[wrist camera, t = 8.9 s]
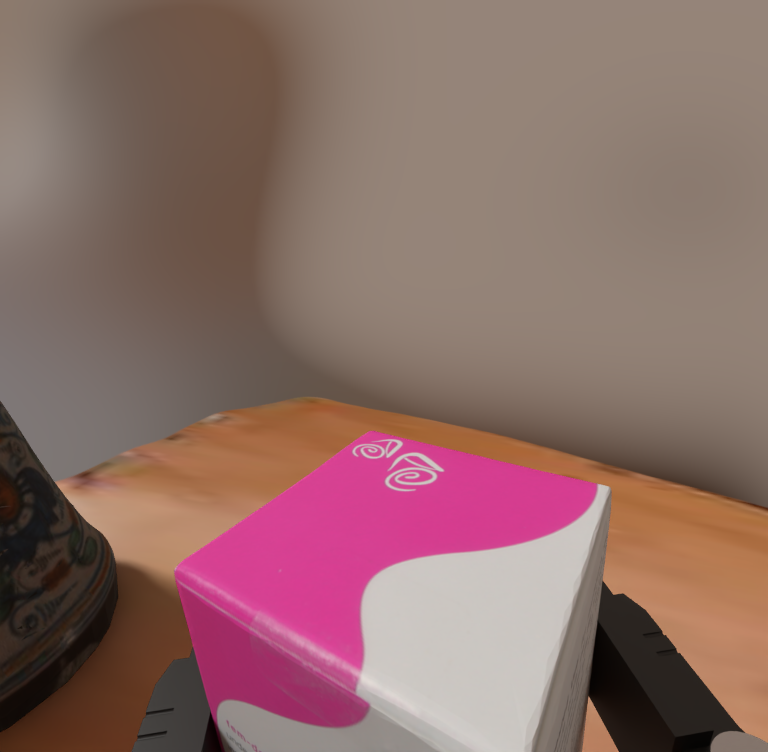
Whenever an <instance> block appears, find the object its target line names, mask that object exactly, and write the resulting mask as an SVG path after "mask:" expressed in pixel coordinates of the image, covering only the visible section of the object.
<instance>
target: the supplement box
mask: <svg viewBox="0 0 768 752" xmlns="http://www.w3.org/2000/svg"><path fill="white" fill-rule="evenodd" d="M611 493H612V492H611V488H610V487H608V486H604V485H600V484H596V483H591V482H587V481H582V480H578V479H574V478H569V477H565V476H561V475H557V474H553V473H548V472H543V471H539V470H535V469H531V468H527V467H522V466H518V465H514V464H510V463H505V462H501V461H497V460H493V459H489V458H485V457H480V456H476V455H472V454H468V453H464V452H460V451H456V450H451V449H447V448H442V447H438V446H434V445H430V444H426V443H421V442H417V441H413V440H409V439H404V438H400V437H396V436H392V435H388V434H384V433H379V432H376V431H369V432H368V433H366V434H364V435H363V436H361V437H360V438H358V439H357V440H355V441H354V442H352V443H351V444H350V445H348V446H347V447H345V448H344V449H343V450H341V451H340V452H339V453H337V454H336V455H335V456H333V457H332V458H331V459H329V460H328V461H327V462H325V463H324V464H323V465H321V466H320V467H318V468H317V469H316V470H315V471H313V472H312V473H310V474H309V475H307V476H306V477H305V478H303V479H302V480H300V481H299V482H298V483H296V484H295V485H293V486H292V487H290V488H289V489H287V490H286V491H285V492H283V493H282V494H280V495H279V496H277V497H276V498H275V499H273V500H272V501H270V502H269V503H267V504H266V505H264V506H263V507H261V508H260V509H258V510H257V511H255V512H254V513H252V514H251V515H249V516H248V517H247V518H245V519H244V520H242V521H241V522H239V523H238V524H236V525H235V526H233V527H232V528H231V529H229V530H228V531H226V532H225V533H223V534H222V535H220V536H219V537H217V538H216V539H214V540H213V541H211V542H210V543H208V544H207V545H206V546H204V547H203V548H201V549H200V550H198V551H196V552H195V553H193V554H192V555H190V556H189V557H187V558H186V559H184V560H183V561H182V562H181V563H180V564H178V565H177V567H176V568H175V570H174V574H175V580H176V584H177V588H178V592H179V595H180V599H181V603H182V606H183V610H184V614H185V618H186V621H187V625H188V629H189V632H190V636H191V640H192V644H193V648H194V651H195V655H196V659H197V663H198V666H199V670H200V674H201V678H202V681H203V685H204V689H205V692H206V696H207V700H208V703H209V707H210V710H211V713H212V717H213V721H214V725H215V729H216V733H217V736H218V740H219V743H220V747H221V751H222V752H582V747H583V738H584V730H585V721H586V712H587V704H588V696H589V687H590V679H591V670H592V662H593V654H594V645H595V637H596V628H597V620H598V612H599V604H600V596H601V588H602V580H603V572H604V564H605V555H606V547H607V538H608V530H609V521H610V511H611Z"/></svg>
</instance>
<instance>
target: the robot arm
mask: <svg viewBox="0 0 768 752" xmlns="http://www.w3.org/2000/svg"><path fill="white" fill-rule="evenodd" d="M589 697H590V699H591V701H592V703H593V704H594V706H595V708H596V710H597V712H598V714H599V715H600V717H601V719H602V721H603V723H604V725H605V727H606V728H607V730H608V732H609V734H610V736H611V738H612V739H613V741H614V743H615V745H616V747H617V749H618V751H619V752H768V743H766V742H765V741H763V740H761V739H759V738H757V737H755V736H753V735H750V734H747V733H745V732H744V731H743V730H742V729H741V728H740V727H739V726H738V725H737V724H736V723H735V721H734V720H733V719H732V718H731V717H730V715H729V714H728V713H727V712H726V710H725V709H724V708H723V707H722V705H721V704H720V703H719V702H718V700H717V699H716V698H715V697H714V695H713V694H712V693H711V691H710V690H709V689H708V688H707V686H706V685H705V684H704V683H703V681H702V680H701V679H700V678H699V676H698V675H697V674H696V673H695V671H694V670H693V669H692V668H691V666H690V665H689V664H688V663H687V661H686V660H685V659H684V658H683V656H682V655H681V654H680V653H678V652H677V651H676V648H675V646H674V645H673V644H672V643H671V641H670V640H669V639H668V638H667V636H666V635H663V633H662V630H661V629H660V628H659V626H658V625H657V624H656V623H655V621H654V620H653V619H652V618H651V616H650V615H649V614H648V613H647V611H646V610H645V609H643V608H642V607H641V606H639V605H638V604H637V603H635V602H634V601H633V600H631V599H630V598H629V597H627V596H626V595H624V594H617V595H613V594H612V592H611V591H610V590H609V588H608V587H607V586H606V584H605V583H604V582H603V580H602V588H601V596H600V604H599V612H598V620H597V628H596V637H595V645H594V654H593V662H592V670H591V679H590V687H589ZM137 736H138V738H137V742H135V744H134V746H133V749H132V752H222V751H221V747H220V743H219V740H218V736H217V733H216V729H215V725H214V721H213V717H212V713H211V710H210V707H209V703H208V700H207V696H206V692H205V689H204V685H203V681H202V678H201V674H200V670H199V666H198V663H197V659H196V655H195V651H194V648H192V651H191V655H190V658H184V659H177V660H173V662H172V663H171V664H170V666H169V667H168V668H167V670H166V671H165V673H164V674H163V675H162V677H161V678H160V679H159V681H158V682H157V684H156V685H155V688H154V691H153V693H152V696H151V699H150V702H149V705H148V707H147V710H146V716H145V718H143V721H142V724H141V727H140V730H139V732H138V735H137Z"/></svg>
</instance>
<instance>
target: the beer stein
mask: <svg viewBox="0 0 768 752" xmlns="http://www.w3.org/2000/svg"><path fill="white" fill-rule="evenodd" d="M117 599H118V588H117V574H116V562H115V558H114V553H113V551H112V548H111V546H110V544H109V542H108V541H107V539H106V538H105V537H104V535H103V534H102V533H101V532H99V531H98V530H97V529H95V528H94V527H93V526H91V525H90V524H89V523H88V522H87V521H86V520H85V519H84V518H83V517H82V516H81V515H80V514H79V513H78V511H77V510H76V509H75V508H74V506H73V505H72V504H71V503H70V502H69V501H68V499H67V498H66V497H65V496H64V494H63V493H62V492H61V490H60V489H59V488H58V486H57V485H56V483H55V482H54V481H53V479H52V478H51V476H50V475H49V474H48V472H47V471H46V470H45V468H44V466H43V465H42V463H41V462H40V461H39V459H38V458H37V456H36V455H35V453H34V452H33V450H32V449H31V447H30V445H29V444H28V442H27V441H26V439H25V438H24V436H23V435H22V433H21V431H20V430H19V428H18V427H17V425H16V424H15V422H14V421H13V419H12V418H11V416H10V414H9V413H8V411H7V410H6V409H5V407H4V406H3V404H2V403H1V401H0V732H1V731H3V730H5V729H7V728H9V727H11V726H12V725H13V724H14V723H16V722H17V721H18V720H19V719H21V718H22V717H23V716H25V715H26V714H27V713H28V712H30V711H31V710H32V709H34V708H35V707H36V706H37V705H39V704H40V703H41V702H43V701H44V700H45V699H46V698H48V697H49V696H50V695H51V694H53V693H54V692H55V691H57V690H58V689H59V688H60V687H62V686H63V685H64V684H66V683H67V682H68V680H69V679H70V678H71V677H72V676H73V675H74V674H75V672H76V671H77V670H78V669H79V668H80V667H81V665H82V664H83V663H84V662H85V661H86V660H87V659H88V657H89V656H90V655H91V654H92V653H93V652H94V651H95V649H96V648H97V647H98V645H99V643H100V642H101V640H102V638H103V636H104V635H105V633H106V631H107V630H108V628H109V626H110V623H111V620H112V616H113V613H114V609H115V606H116V602H117Z"/></svg>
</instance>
